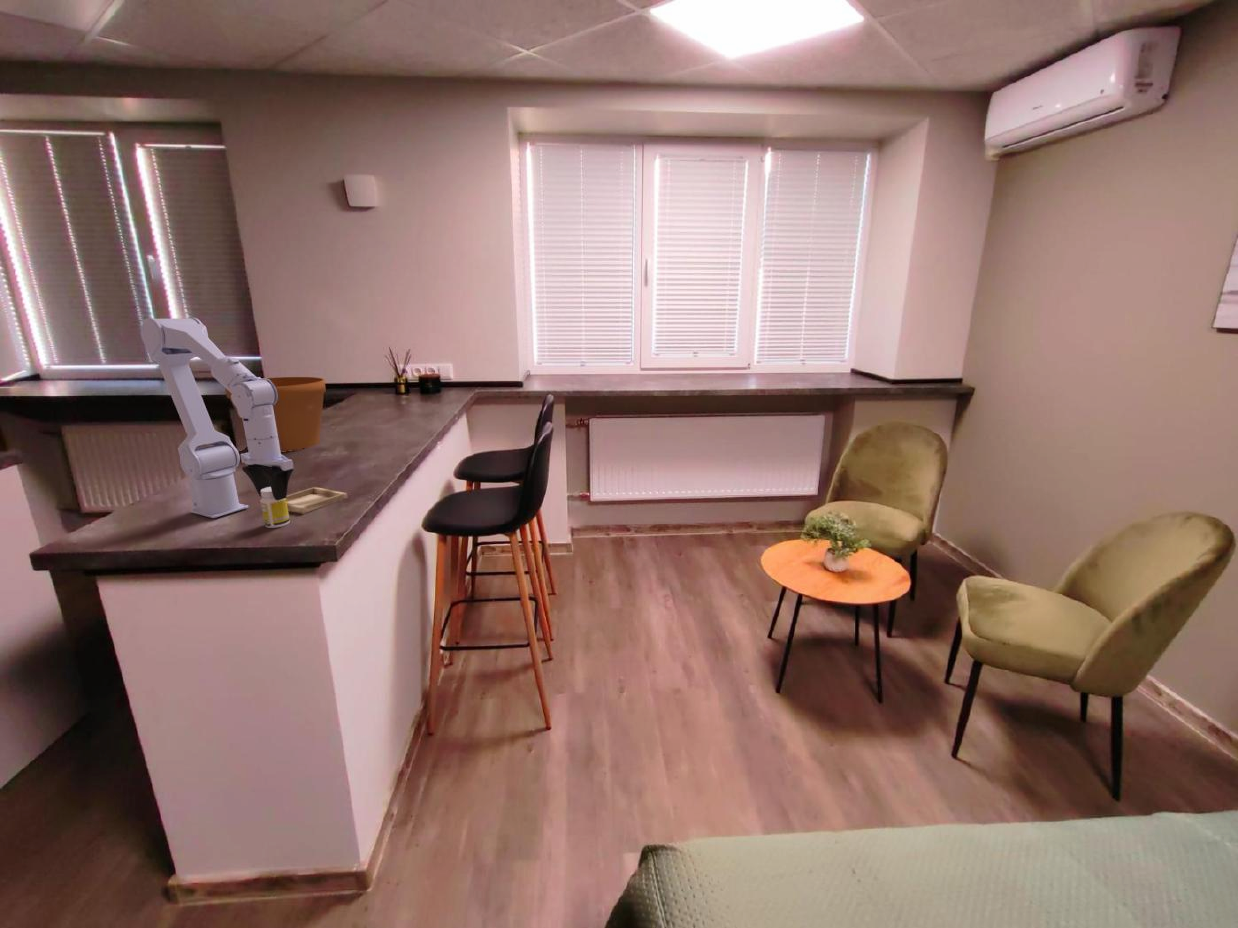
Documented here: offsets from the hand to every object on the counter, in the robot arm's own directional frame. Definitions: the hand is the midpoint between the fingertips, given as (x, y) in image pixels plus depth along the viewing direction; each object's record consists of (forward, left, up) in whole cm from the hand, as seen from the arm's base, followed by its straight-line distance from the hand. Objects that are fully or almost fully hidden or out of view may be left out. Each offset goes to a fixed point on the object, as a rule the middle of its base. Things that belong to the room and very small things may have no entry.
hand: (273, 497), depth 118 cm
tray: (-6, +12, -7) cm, 15 cm away
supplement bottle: (0, 0, -7) cm, 7 cm away
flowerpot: (-61, +44, -7) cm, 75 cm away
